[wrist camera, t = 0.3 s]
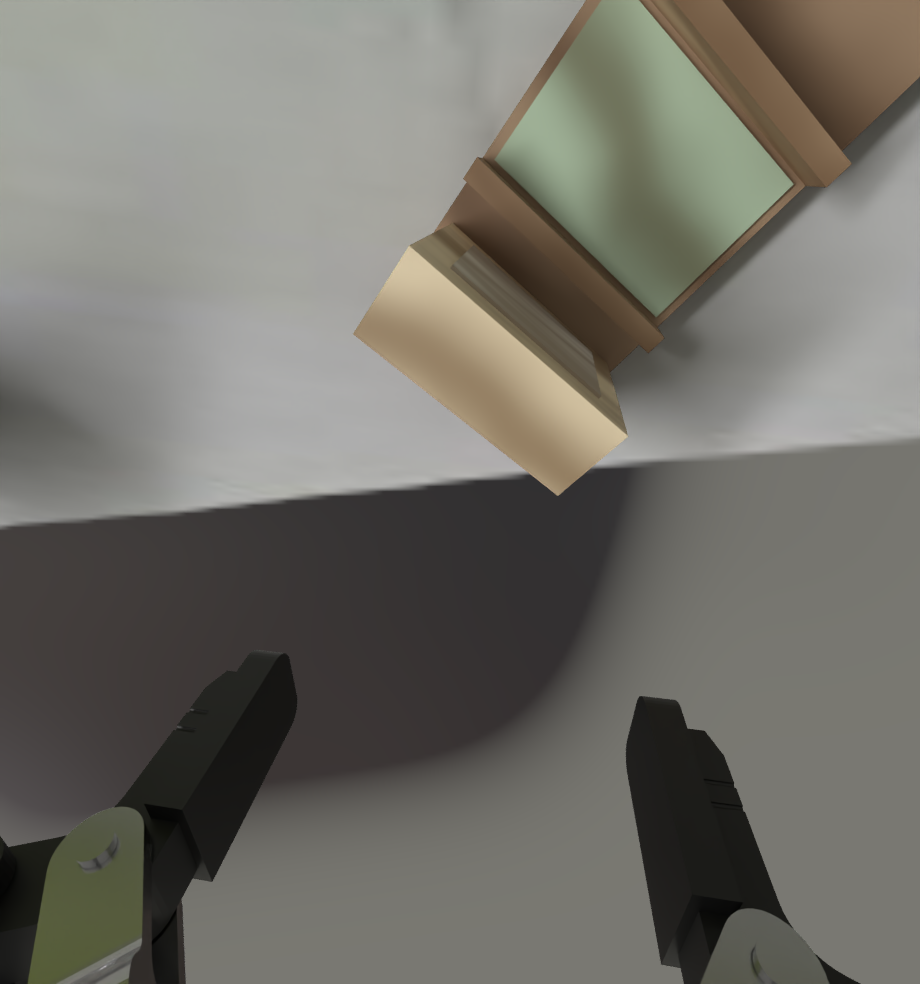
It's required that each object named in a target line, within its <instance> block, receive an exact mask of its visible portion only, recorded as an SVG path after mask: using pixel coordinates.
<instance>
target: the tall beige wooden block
mask: <svg viewBox="0 0 920 984" xmlns="http://www.w3.org/2000/svg"><path fill="white" fill-rule="evenodd" d="M353 334H354V335H355V336H356V337H357V338H359V339H360V340H361V341H362V342H364V343H365V344H366V345H367V346H369V347H370V348H371V349H373V350H374V351H375V352H376V353H378V354H379V355H380V356H381V357H383V358H384V359H385V360H386V361H388V362H389V363H390V364H392V365H393V366H394V367H395V368H397V369H398V370H399V371H400V372H402V373H403V374H404V375H405V376H407V377H408V378H409V379H411V380H412V381H413V382H414V383H416V384H417V385H418V386H419V387H421V388H422V389H423V390H424V391H426V392H427V393H428V394H430V395H431V396H432V397H433V398H435V399H436V400H437V401H438V402H440V403H441V404H442V405H443V406H445V407H446V408H447V409H449V410H450V411H451V412H452V413H454V414H455V415H456V416H457V417H459V418H460V419H461V420H462V421H464V422H465V423H466V424H468V425H469V426H470V427H471V428H473V429H474V430H475V431H476V432H478V433H479V434H480V435H481V436H483V437H484V438H485V439H487V440H488V441H489V442H490V443H492V444H493V445H494V446H495V447H497V448H498V449H499V450H500V451H502V452H503V453H504V454H506V455H507V456H508V457H509V458H511V459H512V460H513V461H514V462H516V463H517V464H518V465H519V466H521V467H522V468H523V469H525V470H526V471H527V472H528V473H530V474H531V475H532V476H533V477H535V478H536V479H537V480H538V481H540V482H541V483H543V484H544V485H545V486H546V487H547V488H549V489H550V490H551V491H552V492H554V493H555V494H556V495H559V494H560V493H562V492H563V491H564V490H565V489H566V488H567V487H569V486H570V485H571V484H572V483H574V481H576V480H577V479H578V478H579V477H581V476H582V475H583V474H584V473H585V472H587V471H588V470H589V469H590V468H591V467H592V466H594V465H595V464H596V463H597V462H598V461H600V460H601V459H602V458H603V457H604V456H606V455H607V454H608V453H609V452H610V451H611V450H613V449H614V448H615V447H616V446H617V445H619V444H620V443H621V442H622V441H623V440H625V439H626V438H627V437H628V434H627V431H626V427H625V424H624V420H623V417H622V413H621V410H620V406H619V403H618V399H617V396H616V392H615V389H614V385H613V382H612V378H611V375H610V371H609V368H608V364H607V363H606V362H605V361H604V360H603V359H602V358H601V357H600V356H599V355H597V354H596V353H595V352H594V351H593V350H592V349H591V348H590V347H589V346H588V345H586V344H585V343H584V342H583V341H582V340H581V339H580V338H579V337H578V336H577V335H575V334H574V333H573V332H572V331H571V330H570V329H569V328H568V327H567V326H566V325H564V324H563V323H562V322H561V321H560V320H559V319H558V318H557V317H556V316H555V315H553V314H552V313H551V312H550V311H549V310H548V309H547V308H546V307H545V306H544V305H542V304H541V303H540V302H539V301H538V300H537V299H536V298H535V297H534V296H533V295H531V294H530V293H529V292H528V291H527V290H526V289H525V288H524V287H523V286H522V285H520V284H519V283H518V282H517V281H516V280H515V279H514V278H513V277H512V276H511V275H509V274H508V273H507V272H506V271H505V270H504V269H503V268H502V267H501V266H500V265H498V264H497V263H496V262H495V261H494V260H493V259H492V258H491V257H490V256H489V255H487V254H486V253H485V252H484V251H483V250H482V249H481V248H480V247H479V246H478V245H476V244H475V243H474V242H473V241H472V240H471V239H470V238H469V237H468V236H467V235H465V234H464V233H463V232H462V231H461V230H460V229H459V228H458V227H457V226H456V225H454V224H453V223H451V224H450V225H448V226H446V227H444V228H442V229H440V230H438V231H436V232H434V233H432V234H431V235H429V236H427V237H425V238H423V239H421V240H419V241H417V242H415V243H413V244H412V245H410V246H409V247H408V248H407V250H406V252H405V253H404V255H403V256H402V258H401V259H400V261H399V263H398V264H397V266H396V267H395V269H394V270H393V272H392V274H391V275H390V277H389V278H388V280H387V281H386V283H385V285H384V286H383V288H382V289H381V291H380V292H379V294H378V296H377V297H376V299H375V300H374V302H373V303H372V305H371V307H370V308H369V310H368V311H367V313H366V314H365V316H364V318H363V319H362V321H361V322H360V324H359V325H358V327H357V329H356V330H355V332H354V333H353Z"/></svg>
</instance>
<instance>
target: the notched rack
mask: <svg viewBox="0 0 920 984" xmlns="http://www.w3.org/2000/svg"><path fill="white" fill-rule="evenodd" d="M919 77H920V0H586V1H585V3H584V4H583V6H582V7H581V9H580V10H579V12H578V13H577V15H576V16H575V18H574V20H573V21H572V23H571V24H570V26H569V27H568V29H567V30H566V32H565V33H564V35H563V36H562V38H561V39H560V41H559V42H558V44H557V45H556V47H555V48H554V50H553V52H552V53H551V55H550V56H549V58H548V59H547V61H546V62H545V64H544V65H543V67H542V68H541V70H540V71H539V73H538V74H537V76H536V77H535V79H534V81H533V82H532V84H531V85H530V87H529V88H528V90H527V91H526V93H525V94H524V96H523V97H522V99H521V100H520V102H519V103H518V105H517V106H516V108H515V110H514V111H513V113H512V114H511V116H510V117H509V119H508V120H507V122H506V123H505V125H504V126H503V128H502V129H501V131H500V132H499V134H498V135H497V137H496V139H495V140H494V142H493V143H492V145H491V146H490V148H489V149H488V151H487V152H486V154H485V155H484V157H483V158H479V157H477V158H476V160H475V161H474V163H473V164H472V166H471V167H470V169H469V171H468V172H467V174H466V175H465V177H464V178H463V179H464V180H465V181H466V182H467V183H466V184H465V186H464V187H463V189H462V190H461V192H460V193H459V195H458V196H457V198H456V200H455V201H454V203H453V204H452V206H451V207H450V209H449V210H448V212H447V213H446V215H445V216H444V218H443V219H442V221H441V222H440V224H439V225H438V227H437V229H436V230H435V232H436V231H438V230H440V229H442V228H444V227H446V226H448V225H450V224H451V223H453V224H454V225H456V226H457V227H458V228H459V229H460V230H461V231H462V232H463V233H464V234H465V235H467V236H468V237H469V238H470V239H471V240H472V241H473V242H474V243H475V244H476V245H478V246H479V247H480V248H481V249H482V250H483V251H484V252H485V253H486V254H487V255H489V256H490V257H491V258H492V259H493V260H494V261H495V262H496V263H497V264H498V265H500V266H501V267H502V268H503V269H504V270H505V271H506V272H507V273H508V274H509V275H511V276H512V277H513V278H514V279H515V280H516V281H517V282H518V283H519V284H520V285H522V286H523V287H524V288H525V289H526V290H527V291H528V292H529V293H530V294H531V295H533V296H534V297H535V298H536V299H537V300H538V301H539V302H540V303H541V304H542V305H544V306H545V307H546V308H547V309H548V310H549V311H550V312H551V313H552V314H553V315H555V316H556V317H557V318H558V319H559V320H560V321H561V322H562V323H563V324H564V325H566V326H567V327H568V328H569V329H570V330H571V331H572V332H573V333H574V334H575V335H577V336H578V337H579V338H580V339H581V340H582V341H583V342H584V343H585V344H586V345H588V346H589V347H590V348H591V349H592V350H593V351H594V352H595V353H596V354H597V355H599V356H600V357H601V358H602V359H603V360H604V361H605V362H606V363H607V364H608V368H609V371H610V372H611V371H612V370H613V369H614V368H615V367H616V366H617V365H618V364H619V363H620V362H621V361H622V360H624V359H625V358H626V357H627V356H628V355H629V354H630V353H631V352H632V351H633V350H634V349H635V348H636V347H637V346H638V345H640V346H641V347H642V348H643V349H644V350H645V351H646V352H647V353H649V352H650V351H651V350H652V349H653V348H654V347H656V346H657V345H658V344H659V343H660V342H661V341H662V340H663V339H664V336H663V335H662V333H661V332H660V330H659V329H658V328H657V327H658V326H659V325H660V324H661V323H662V322H663V321H664V320H665V319H667V318H668V317H669V316H670V315H671V314H672V313H673V312H674V311H675V310H676V309H677V308H678V307H679V306H680V305H681V304H682V303H683V302H684V301H685V300H686V299H687V298H689V297H690V296H691V295H692V294H693V293H694V292H695V291H696V290H697V289H698V288H699V287H700V286H701V285H702V284H703V283H704V282H705V281H706V280H707V279H708V278H709V277H711V276H712V275H713V274H714V273H715V272H716V271H717V270H718V269H719V268H720V267H721V266H722V265H723V264H724V263H725V262H726V261H727V260H728V259H729V258H730V257H731V256H733V255H734V254H735V253H736V252H737V251H738V250H739V249H740V248H741V247H742V246H743V245H744V244H745V243H746V242H747V241H748V240H749V239H750V238H751V237H752V236H754V235H755V234H756V233H757V232H758V231H759V230H760V229H761V228H762V227H763V226H764V225H765V224H766V223H767V222H768V221H769V220H770V219H771V218H772V217H773V216H774V215H776V214H777V213H778V212H779V211H780V210H781V209H782V208H783V207H784V206H785V205H786V204H787V203H788V202H789V201H790V200H791V199H792V198H793V197H794V196H795V195H796V194H798V193H799V192H800V191H801V190H802V189H803V188H804V187H805V186H814V187H827V186H828V185H830V184H831V183H832V182H833V181H834V180H835V179H836V178H837V177H838V176H839V175H840V174H841V173H842V172H844V171H845V170H846V169H847V168H848V167H849V166H850V165H851V164H852V163H851V162H850V161H849V160H848V158H847V157H846V156H845V155H844V153H843V152H842V151H843V150H844V149H845V148H846V147H847V146H848V145H849V144H850V143H851V142H852V141H853V140H854V139H855V138H856V137H857V136H858V135H859V134H860V133H861V132H863V131H864V130H865V129H866V128H867V127H868V126H869V125H870V124H871V123H872V122H873V121H874V120H875V119H876V118H877V117H878V116H879V115H880V114H881V113H882V112H883V111H885V110H886V109H887V108H888V107H889V106H890V105H891V104H892V103H893V102H894V101H895V100H896V99H897V98H898V97H899V96H900V95H901V94H902V93H903V92H904V91H905V90H907V89H908V88H909V87H910V86H911V85H912V84H913V83H914V82H915V81H916V80H917V79H918V78H919Z"/></svg>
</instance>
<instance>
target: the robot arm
mask: <svg viewBox="0 0 920 984" xmlns="http://www.w3.org/2000/svg"><path fill="white" fill-rule="evenodd" d="M296 710H297V693H296V689H295V683H294V679H293V674H292V669H291V664H290V659H289V656H288V655H287V654H285V653H278V652H270V651H261V650H255V651H252V652H251V653H250V654H249V655H248V656H247V658H246V659H245V661H244V662H243V663H242V665H241V667H240V668H239V669H238V671H237V672H233V671H226V672H225V673H224V674H222V676H220V677H219V678H217V679H216V680H215V681H213V682H212V683H211V684H210V685H208V686H207V687H206V688H205V689H204V690H203V692H202V693H201V694H200V696H199V697H198V699H197V700H196V701H195V703H194V704H193V705H192V706H191V708H190V712H189V713H186V715H185V716H184V717H183V718H182V720H181V721H180V723H179V724H178V725H177V729H176V730H173V732H172V733H171V734H170V736H169V737H168V738H167V740H166V741H165V743H164V744H163V745H162V746H161V748H160V749H159V750H158V752H157V753H156V754H155V756H154V757H153V758H152V760H151V761H150V762H149V764H148V765H147V766H146V768H145V769H144V770H143V772H142V773H141V775H140V776H139V777H138V778H137V780H136V781H135V782H134V784H133V785H132V787H131V788H130V789H129V790H128V792H127V793H126V795H125V796H124V797H123V798H122V799H121V800H120V802H119V803H118V804H117V805H116V806H115V807H114V808H110V809H107V810H104V811H101V812H99V813H97V814H95V815H93V816H91V817H89V818H88V819H86V820H85V821H83V822H82V823H81V824H79V825H78V826H77V827H75V828H74V829H73V830H72V831H71V832H70V833H69V834H68V835H66V836H62V837H58V838H53V839H48V840H43V841H38V842H33V843H27V844H22V845H17V846H12V847H8V846H7V845H6V843H5V842H4V841H3V839H2V838H1V837H0V984H186V974H185V951H184V927H183V905H182V897H183V895H184V893H185V891H186V889H187V887H188V886H189V884H190V882H191V880H192V878H194V879H199V880H205V881H210V882H212V881H213V879H214V877H215V875H216V874H217V871H218V869H219V867H220V866H221V864H222V861H223V860H224V858H225V856H226V854H227V852H228V850H229V847H230V846H231V844H232V842H233V840H234V838H235V836H236V834H237V832H238V830H239V828H240V826H241V824H242V822H243V820H244V818H245V817H246V814H247V812H248V811H249V809H250V807H251V805H252V803H253V801H254V799H255V797H256V795H257V793H258V791H259V789H260V787H261V785H262V783H263V781H264V779H265V777H266V775H267V773H268V771H269V769H270V767H271V765H272V764H273V762H274V760H275V757H276V756H277V754H278V752H279V750H280V748H281V746H282V744H283V742H284V740H285V738H286V736H287V734H288V732H289V730H290V728H291V726H292V724H293V721H294V718H295V715H296ZM626 765H627V766H626V767H627V774H628V780H629V786H630V791H631V797H632V803H633V808H634V814H635V819H636V825H637V830H638V836H639V842H640V848H641V853H642V859H643V864H644V870H645V876H646V881H647V887H648V893H649V898H650V904H651V909H652V915H653V921H654V926H655V932H656V937H657V943H658V949H659V954H660V960H661V964H662V965H667V966H673V967H678V968H681V972H682V976H683V981H684V984H860V983H858V982H856V981H854V980H852V979H850V978H848V977H847V976H845V975H843V974H841V973H840V972H838V971H836V970H835V969H833V968H832V967H831V966H829V965H828V964H826V963H825V962H824V961H823V960H822V959H820V958H819V957H818V956H817V955H816V954H815V953H814V952H813V951H812V949H811V948H810V947H809V945H808V944H807V943H806V941H805V940H804V939H803V938H802V937H801V936H800V935H799V934H798V933H797V932H796V931H795V930H794V929H793V927H792V926H791V925H790V923H789V922H788V920H787V918H786V916H785V915H784V913H783V911H782V908H781V906H780V904H779V901H778V899H777V896H776V893H775V891H774V889H773V886H772V883H771V880H770V878H769V875H768V872H767V870H766V867H765V864H764V861H763V859H762V856H761V853H760V851H759V848H758V846H757V843H756V840H755V838H754V835H753V832H752V829H751V827H750V824H749V821H748V819H747V816H746V813H745V812H743V808H742V807H743V805H742V803H741V800H740V797H739V795H738V792H737V789H736V788H734V781H733V779H732V776H731V773H730V771H729V768H728V765H727V763H726V760H725V757H724V755H723V754H722V753H721V751H720V750H719V749H718V748H717V746H716V745H715V744H714V742H713V741H712V740H711V738H710V737H709V736H708V735H707V733H706V732H705V731H702V730H694V729H687V726H686V723H685V720H684V716H683V714H682V710H681V707H680V705H679V703H678V702H677V701H676V700H670V699H662V698H653V697H645V696H640V697H639V698H638V700H637V703H636V707H635V711H634V715H633V719H632V723H631V727H630V731H629V735H628V739H627V744H626Z"/></svg>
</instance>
